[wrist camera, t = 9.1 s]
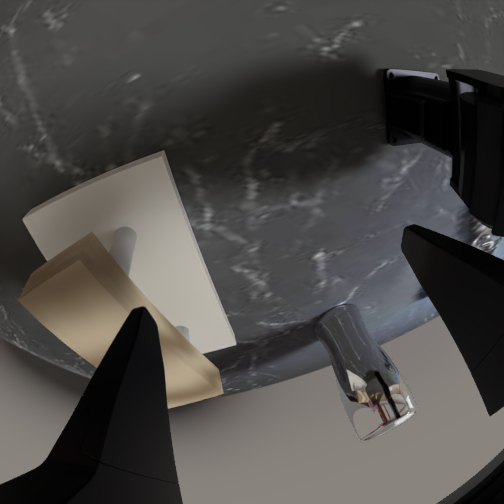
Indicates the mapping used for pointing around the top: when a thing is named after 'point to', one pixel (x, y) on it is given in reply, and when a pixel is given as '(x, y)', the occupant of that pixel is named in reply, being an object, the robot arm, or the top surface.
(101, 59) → the top surface
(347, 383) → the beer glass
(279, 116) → the top surface
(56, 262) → the maple board
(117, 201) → the peg stand
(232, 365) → the top surface
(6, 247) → the top surface
